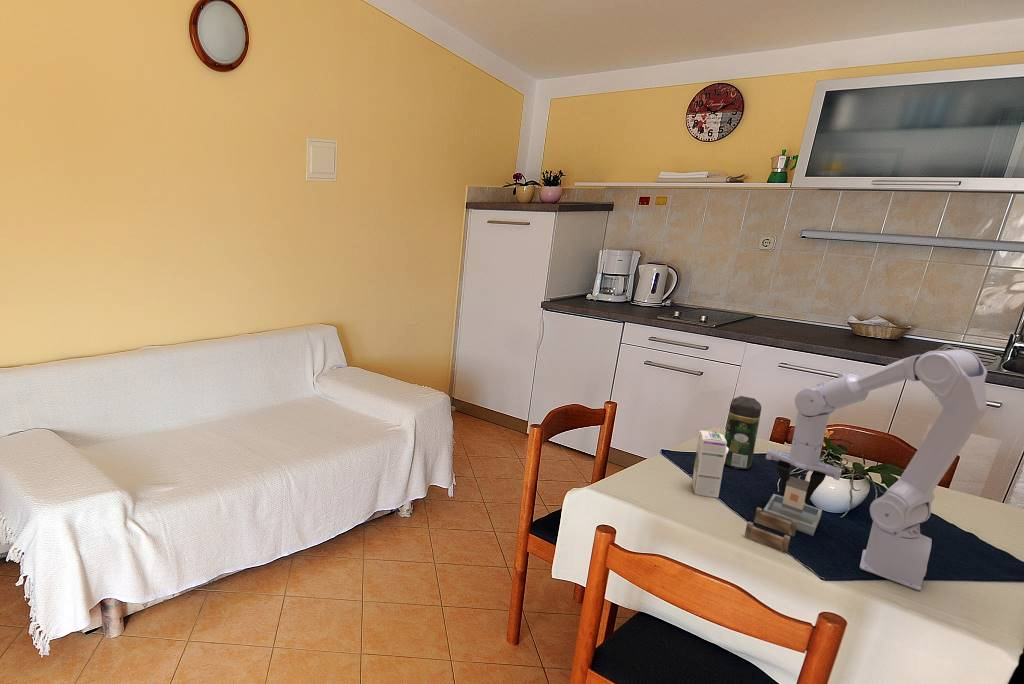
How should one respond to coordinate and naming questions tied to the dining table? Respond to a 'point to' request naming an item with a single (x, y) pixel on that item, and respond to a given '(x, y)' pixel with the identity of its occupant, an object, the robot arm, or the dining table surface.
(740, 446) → the coffee jar
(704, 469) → the syrup box
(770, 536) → the rail holder
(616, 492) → the dining table surface
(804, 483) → the small beige carton
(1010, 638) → the dining table surface
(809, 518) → the tray
